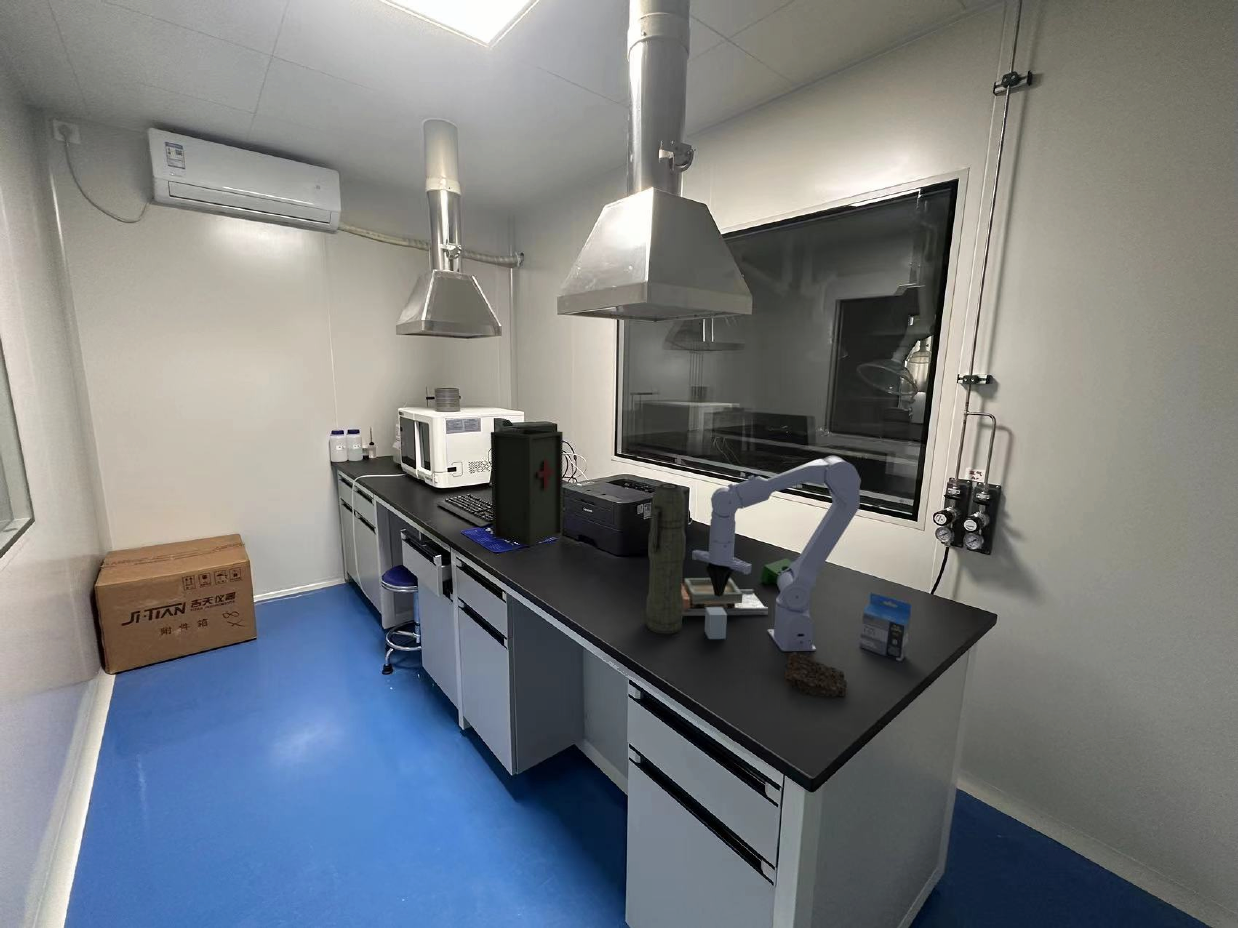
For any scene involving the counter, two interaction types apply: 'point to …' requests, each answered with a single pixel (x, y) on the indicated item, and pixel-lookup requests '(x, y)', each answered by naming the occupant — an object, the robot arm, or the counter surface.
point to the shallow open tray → (711, 592)
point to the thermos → (666, 559)
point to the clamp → (774, 570)
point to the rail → (747, 606)
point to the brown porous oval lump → (814, 677)
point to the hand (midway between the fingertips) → (718, 594)
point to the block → (715, 623)
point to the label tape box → (886, 627)
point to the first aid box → (526, 485)
